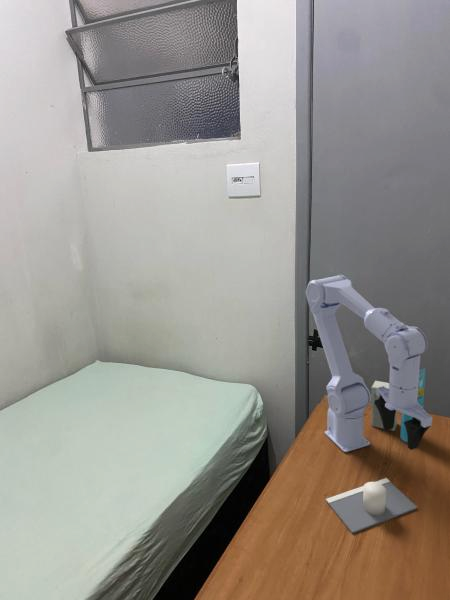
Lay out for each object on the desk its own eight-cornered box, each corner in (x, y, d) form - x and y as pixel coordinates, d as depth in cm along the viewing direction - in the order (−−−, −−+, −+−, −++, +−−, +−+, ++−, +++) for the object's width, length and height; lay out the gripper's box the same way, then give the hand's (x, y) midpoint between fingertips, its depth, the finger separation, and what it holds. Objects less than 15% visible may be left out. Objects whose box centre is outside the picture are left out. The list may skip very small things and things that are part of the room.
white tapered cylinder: (358, 502, 87) (359, 485, 86) (375, 496, 88) (376, 479, 87) (372, 518, 83) (372, 499, 82) (389, 511, 84) (390, 493, 83)
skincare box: (397, 423, 114) (399, 384, 110) (394, 431, 110) (396, 391, 107) (373, 418, 117) (375, 379, 114) (369, 425, 114) (371, 386, 110)
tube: (410, 448, 103) (415, 380, 98) (393, 439, 107) (397, 373, 102) (427, 437, 107) (432, 370, 102) (410, 429, 111) (414, 364, 106)
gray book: (325, 500, 89) (325, 498, 88) (385, 479, 93) (385, 477, 93) (352, 533, 80) (352, 531, 80) (417, 508, 85) (417, 506, 85)
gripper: (366, 373, 93) (364, 425, 96) (414, 403, 79) (410, 462, 83) (391, 367, 95) (388, 418, 99) (442, 395, 81) (437, 453, 85)
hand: (400, 438), depth 91 cm, fingers open, 7 cm apart
